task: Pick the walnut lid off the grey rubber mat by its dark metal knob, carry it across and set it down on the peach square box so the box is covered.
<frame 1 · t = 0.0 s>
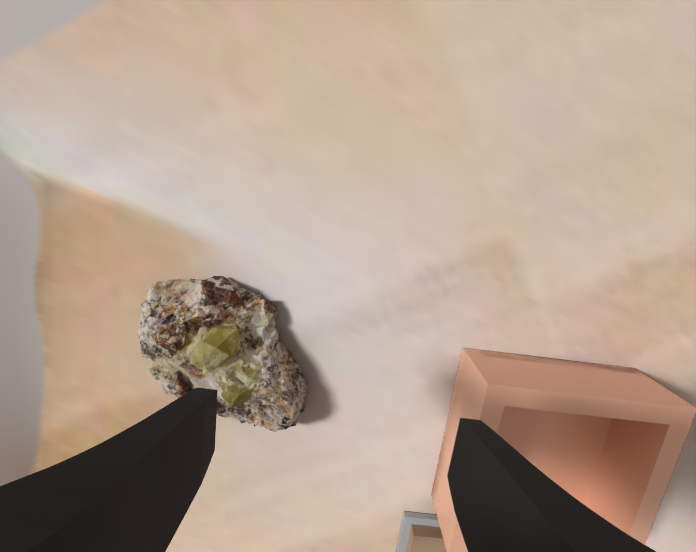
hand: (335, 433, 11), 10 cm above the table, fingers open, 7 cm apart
mineral rock: (233, 349, 22), on the table
peach square box: (528, 434, 23), on the table
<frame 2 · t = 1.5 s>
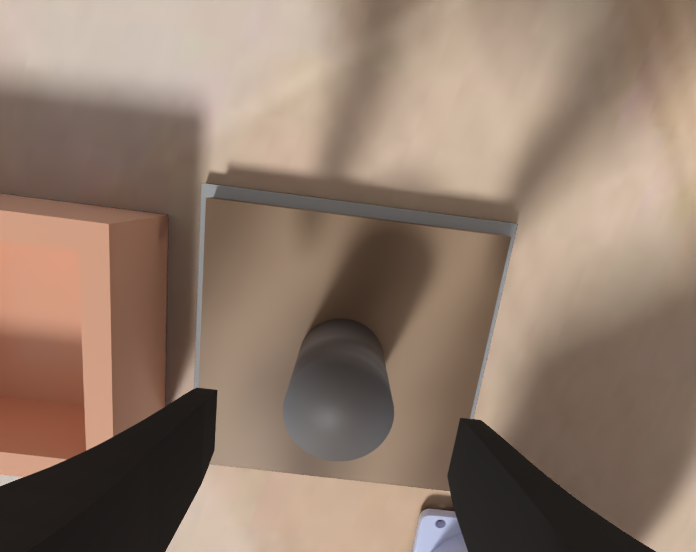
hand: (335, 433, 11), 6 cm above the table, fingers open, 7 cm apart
walnut lid: (341, 350, 17), resting on rubber mat
rubber mat: (341, 346, 17), on the table
peach square box: (54, 312, 17), on the table
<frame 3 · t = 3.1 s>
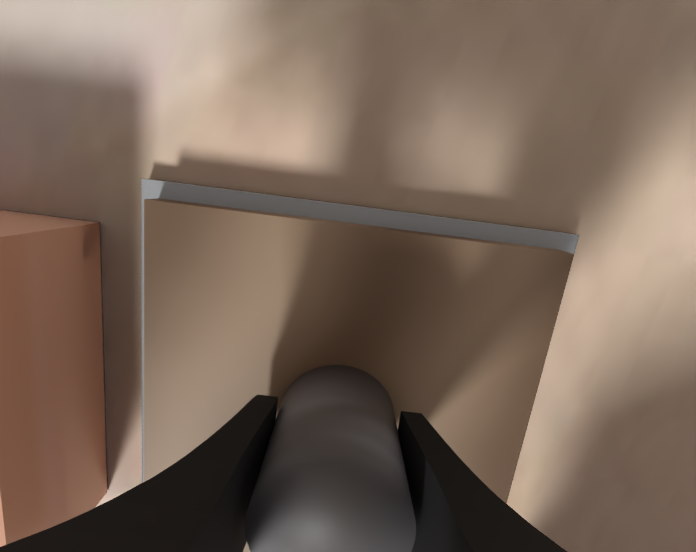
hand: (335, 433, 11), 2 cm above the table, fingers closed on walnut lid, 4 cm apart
walnut lid: (337, 402, 13), resting on rubber mat, touching gripper
rubber mat: (337, 396, 13), on the table
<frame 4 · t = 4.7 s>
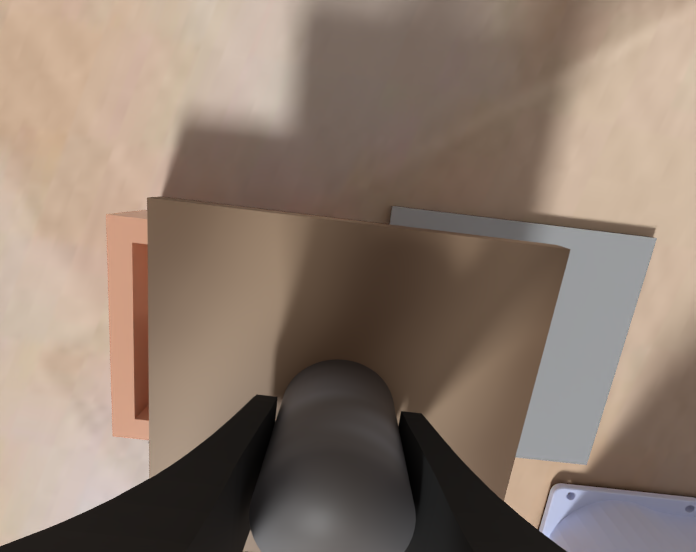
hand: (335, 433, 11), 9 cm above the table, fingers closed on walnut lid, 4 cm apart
walnut lid: (338, 397, 13), point 7 cm above the table, touching gripper
rubber mat: (494, 343, 20), on the table
peach square box: (252, 315, 20), on the table
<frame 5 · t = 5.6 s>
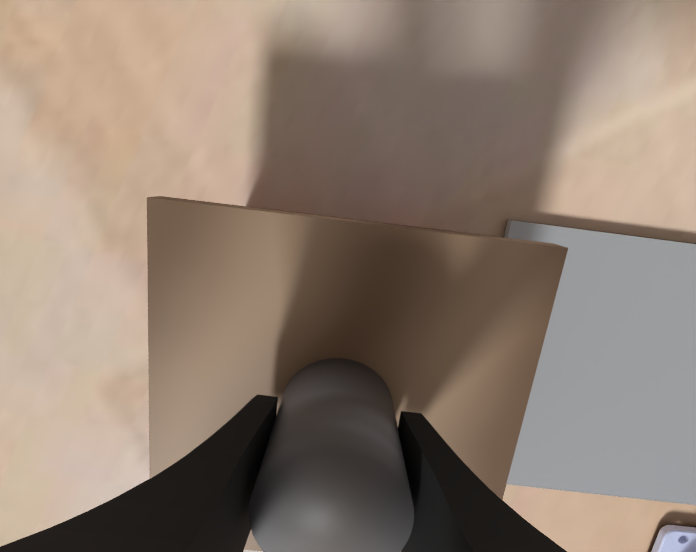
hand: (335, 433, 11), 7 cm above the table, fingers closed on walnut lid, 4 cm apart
walnut lid: (337, 395, 13), point 5 cm above the table, touching gripper
rubber mat: (610, 372, 18), on the table
when the fingers open (7 cm above the table, at t = 6.3 s): walnut lid stays where it is, resting on peach square box.
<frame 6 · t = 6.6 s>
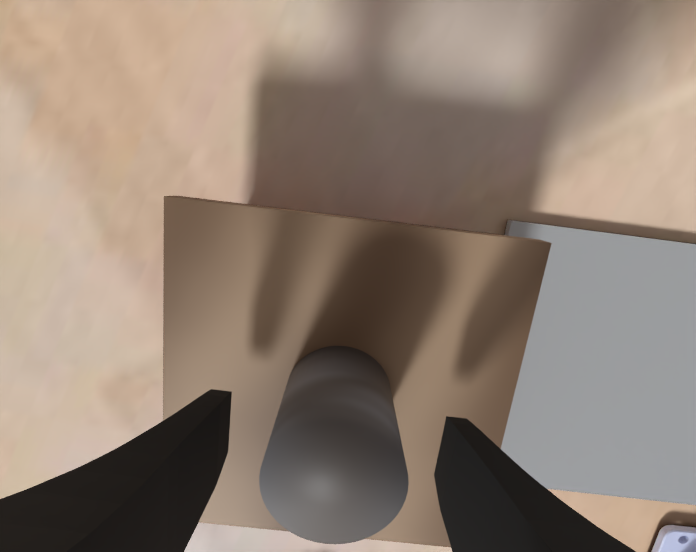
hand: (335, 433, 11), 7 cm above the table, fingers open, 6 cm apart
walnut lid: (339, 382, 14), point 4 cm above the table, touching peach square box
rubber mat: (610, 372, 18), on the table
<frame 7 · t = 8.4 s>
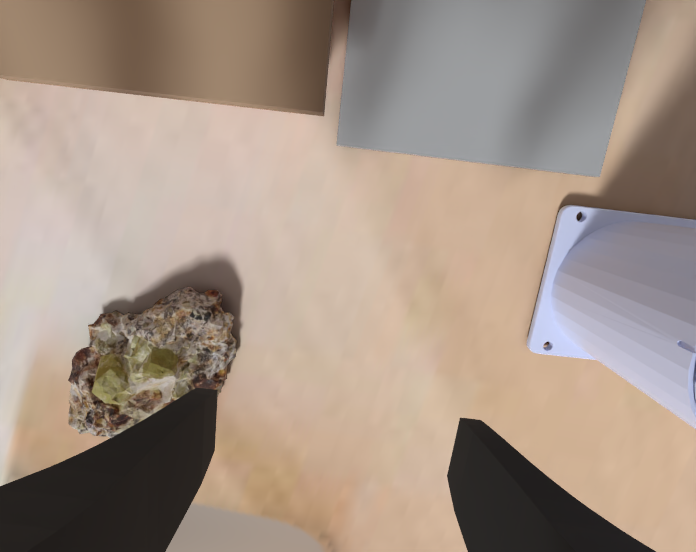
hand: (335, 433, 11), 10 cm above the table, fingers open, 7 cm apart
mineral rock: (170, 355, 22), on the table
rubber mat: (493, 13, 17), on the table
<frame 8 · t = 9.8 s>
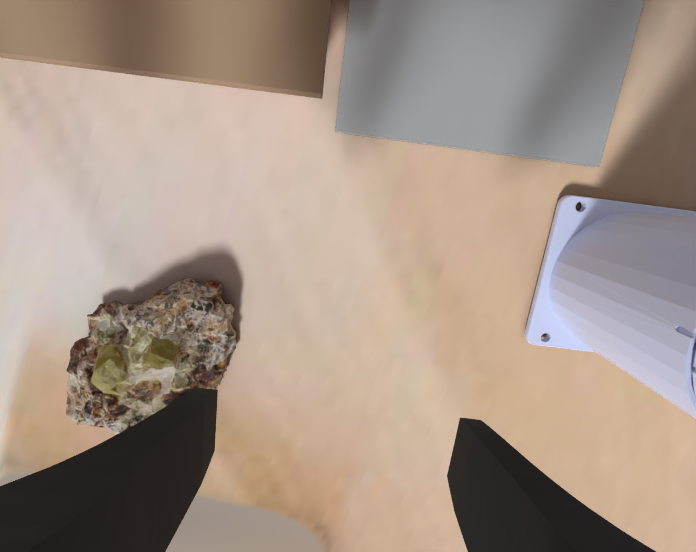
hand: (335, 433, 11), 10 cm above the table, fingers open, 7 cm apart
mineral rock: (169, 347, 22), on the table
rubber mat: (494, 0, 17), on the table
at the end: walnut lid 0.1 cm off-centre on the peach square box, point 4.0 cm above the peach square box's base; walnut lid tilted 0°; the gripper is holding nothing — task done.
